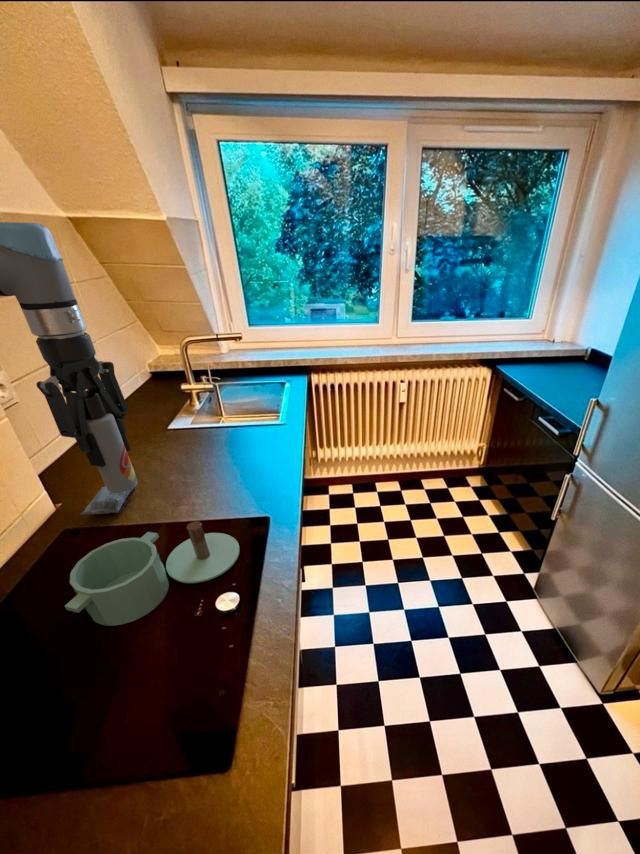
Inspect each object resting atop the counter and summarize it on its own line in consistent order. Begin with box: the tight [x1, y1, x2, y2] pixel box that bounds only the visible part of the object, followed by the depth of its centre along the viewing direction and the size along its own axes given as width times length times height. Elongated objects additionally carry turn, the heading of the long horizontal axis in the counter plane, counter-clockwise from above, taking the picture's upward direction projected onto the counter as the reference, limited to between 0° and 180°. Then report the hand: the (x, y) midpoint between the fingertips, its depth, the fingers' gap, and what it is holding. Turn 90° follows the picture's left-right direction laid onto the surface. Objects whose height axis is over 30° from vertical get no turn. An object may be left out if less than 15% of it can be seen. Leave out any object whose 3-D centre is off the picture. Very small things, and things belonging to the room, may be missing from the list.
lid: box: [165, 520, 241, 584], centre depth 79 cm, size 15×15×9 cm
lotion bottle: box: [83, 389, 139, 493], centre depth 74 cm, size 6×6×20 cm
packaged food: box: [79, 485, 136, 516], centre depth 97 cm, size 9×12×5 cm
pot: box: [64, 531, 170, 627], centre depth 71 cm, size 14×19×8 cm
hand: (111, 456), depth 76 cm, fingers closed on lotion bottle, 6 cm apart
